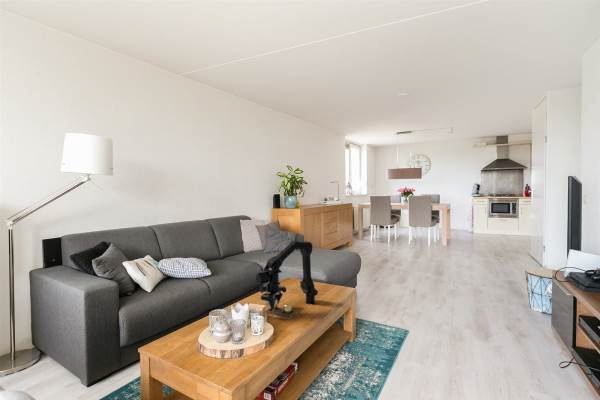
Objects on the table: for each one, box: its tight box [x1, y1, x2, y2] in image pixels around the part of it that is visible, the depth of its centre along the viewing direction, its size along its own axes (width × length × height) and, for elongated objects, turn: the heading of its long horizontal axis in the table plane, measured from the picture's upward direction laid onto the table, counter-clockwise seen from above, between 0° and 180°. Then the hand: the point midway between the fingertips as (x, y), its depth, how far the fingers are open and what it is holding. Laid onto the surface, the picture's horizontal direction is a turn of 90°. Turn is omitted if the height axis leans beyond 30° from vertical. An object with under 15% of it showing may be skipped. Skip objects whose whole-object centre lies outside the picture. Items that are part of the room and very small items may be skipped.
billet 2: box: [283, 302, 292, 315], centre depth 176 cm, size 4×4×6 cm
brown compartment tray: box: [265, 307, 299, 320], centre depth 178 cm, size 11×17×3 cm, turn 63°
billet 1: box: [271, 298, 279, 311], centre depth 180 cm, size 4×4×6 cm
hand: (274, 307), depth 180 cm, fingers closed on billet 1, 4 cm apart
